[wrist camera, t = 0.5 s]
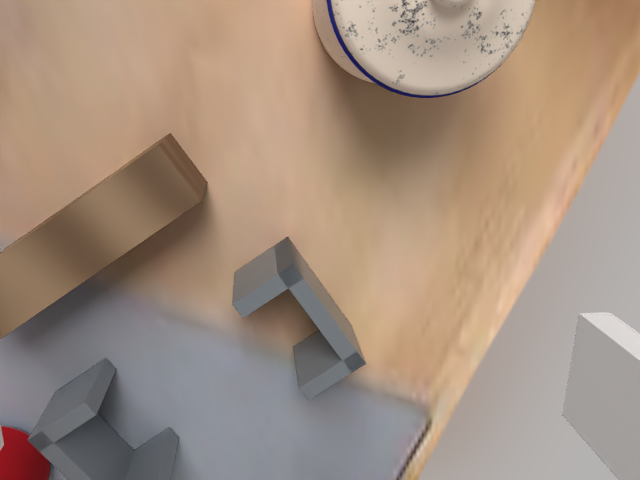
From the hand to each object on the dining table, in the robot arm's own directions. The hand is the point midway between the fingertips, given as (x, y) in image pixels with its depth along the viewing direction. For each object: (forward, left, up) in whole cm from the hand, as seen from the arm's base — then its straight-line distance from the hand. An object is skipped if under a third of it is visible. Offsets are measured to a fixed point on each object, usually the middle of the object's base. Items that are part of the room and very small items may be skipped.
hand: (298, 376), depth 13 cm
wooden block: (-4, -10, -23) cm, 25 cm away
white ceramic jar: (-6, +12, -23) cm, 26 cm away
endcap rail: (+7, -10, -23) cm, 26 cm away
